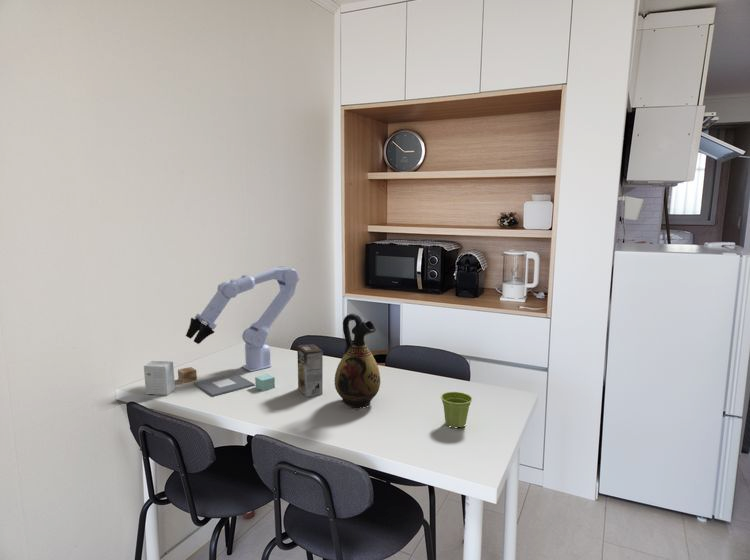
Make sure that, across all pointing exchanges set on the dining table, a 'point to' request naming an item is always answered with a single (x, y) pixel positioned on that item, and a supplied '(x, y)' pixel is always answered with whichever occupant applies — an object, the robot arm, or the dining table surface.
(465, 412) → the plant pot
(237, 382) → the baseplate
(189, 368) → the brick walnut
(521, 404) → the dining table surface
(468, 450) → the dining table surface
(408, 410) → the dining table surface
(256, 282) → the robot arm
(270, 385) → the brick teal
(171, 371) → the small box
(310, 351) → the coffee box
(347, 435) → the dining table surface
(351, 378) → the ceramic jug
